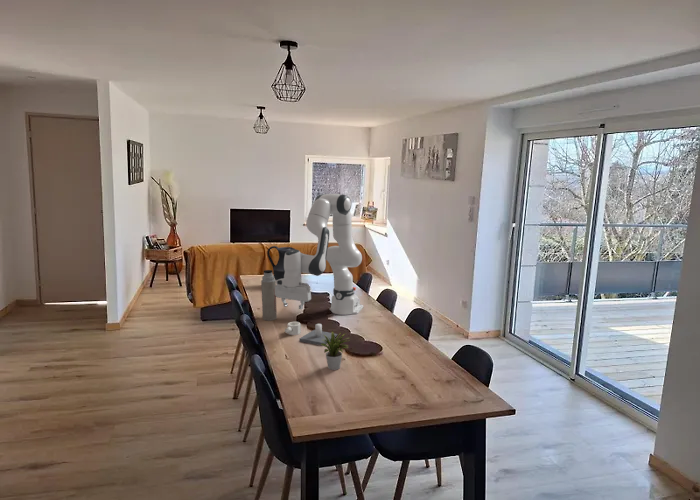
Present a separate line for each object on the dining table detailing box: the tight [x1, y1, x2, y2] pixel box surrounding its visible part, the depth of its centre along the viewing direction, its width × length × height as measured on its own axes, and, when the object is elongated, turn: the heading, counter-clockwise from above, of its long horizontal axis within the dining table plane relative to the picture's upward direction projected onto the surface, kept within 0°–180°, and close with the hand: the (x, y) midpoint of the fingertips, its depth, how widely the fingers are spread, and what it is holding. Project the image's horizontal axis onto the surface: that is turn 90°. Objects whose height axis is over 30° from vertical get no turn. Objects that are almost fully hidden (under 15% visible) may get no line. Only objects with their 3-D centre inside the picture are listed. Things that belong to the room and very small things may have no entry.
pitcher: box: [266, 245, 295, 280], centre depth 343 cm, size 17×21×30 cm
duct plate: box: [298, 323, 339, 347], centre depth 244 cm, size 14×14×8 cm
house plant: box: [320, 330, 349, 371], centre depth 208 cm, size 14×14×16 cm
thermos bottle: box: [260, 269, 278, 321], centre depth 275 cm, size 8×8×28 cm
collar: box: [284, 321, 302, 336], centre depth 251 cm, size 10×6×5 cm, turn 153°
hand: (293, 307), depth 251 cm, fingers open, 8 cm apart
